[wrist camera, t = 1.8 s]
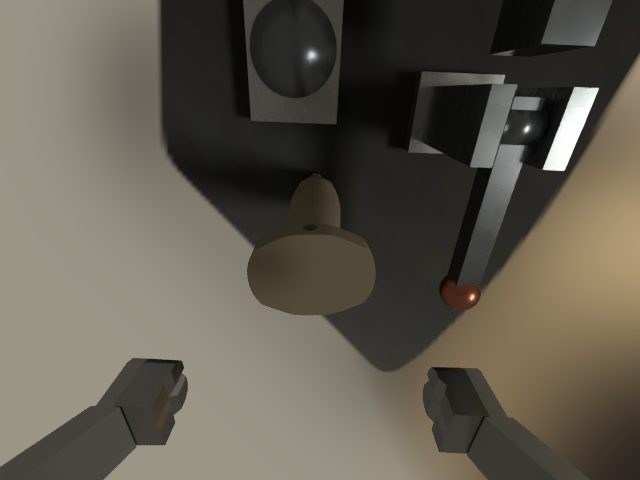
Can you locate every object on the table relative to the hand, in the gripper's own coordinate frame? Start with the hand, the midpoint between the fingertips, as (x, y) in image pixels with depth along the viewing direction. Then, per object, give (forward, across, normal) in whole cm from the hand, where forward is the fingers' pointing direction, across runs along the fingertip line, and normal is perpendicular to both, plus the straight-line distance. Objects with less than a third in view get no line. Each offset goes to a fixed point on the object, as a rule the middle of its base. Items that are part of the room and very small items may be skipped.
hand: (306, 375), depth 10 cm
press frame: (+21, -4, -10) cm, 23 cm away
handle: (+21, 0, 0) cm, 21 cm away
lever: (+13, -11, -5) cm, 18 cm away
